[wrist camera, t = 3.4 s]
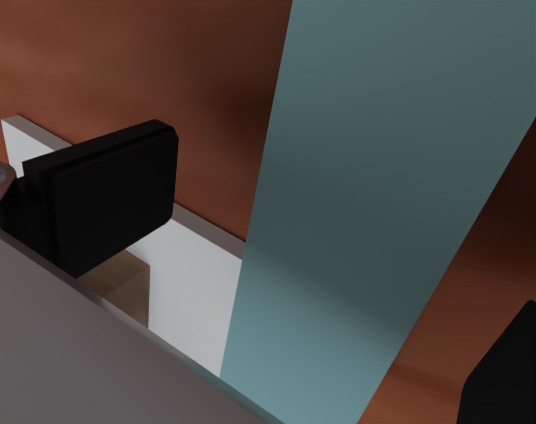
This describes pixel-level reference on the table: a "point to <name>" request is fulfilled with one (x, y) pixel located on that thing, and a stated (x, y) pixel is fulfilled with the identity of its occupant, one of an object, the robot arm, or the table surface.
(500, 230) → the table surface
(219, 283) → the board
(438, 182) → the beam
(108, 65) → the table surface
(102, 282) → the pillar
